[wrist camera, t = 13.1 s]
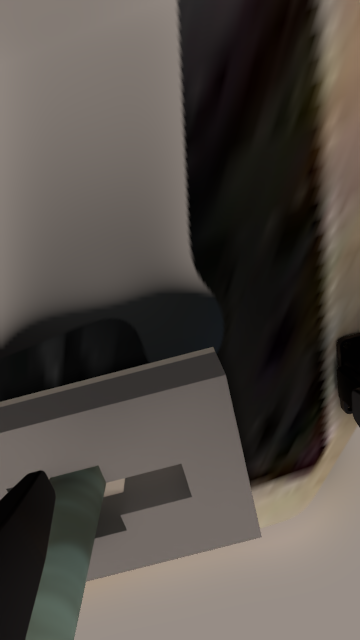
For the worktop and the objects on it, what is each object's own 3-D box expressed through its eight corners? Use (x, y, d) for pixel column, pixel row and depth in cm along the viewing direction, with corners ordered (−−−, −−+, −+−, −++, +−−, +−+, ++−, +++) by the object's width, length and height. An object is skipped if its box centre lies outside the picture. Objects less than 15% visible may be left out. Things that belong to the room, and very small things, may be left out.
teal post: (88, 441, 21) (-11, 740, 9) (118, 477, 23) (67, 783, 10) (43, 465, 22) (-109, 782, 9) (75, 498, 23) (-23, 817, 11)
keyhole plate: (213, 346, 21) (225, 374, 17) (245, 489, 25) (261, 537, 21) (-32, 410, 21) (-74, 452, 17) (45, 540, 25) (25, 596, 21)
